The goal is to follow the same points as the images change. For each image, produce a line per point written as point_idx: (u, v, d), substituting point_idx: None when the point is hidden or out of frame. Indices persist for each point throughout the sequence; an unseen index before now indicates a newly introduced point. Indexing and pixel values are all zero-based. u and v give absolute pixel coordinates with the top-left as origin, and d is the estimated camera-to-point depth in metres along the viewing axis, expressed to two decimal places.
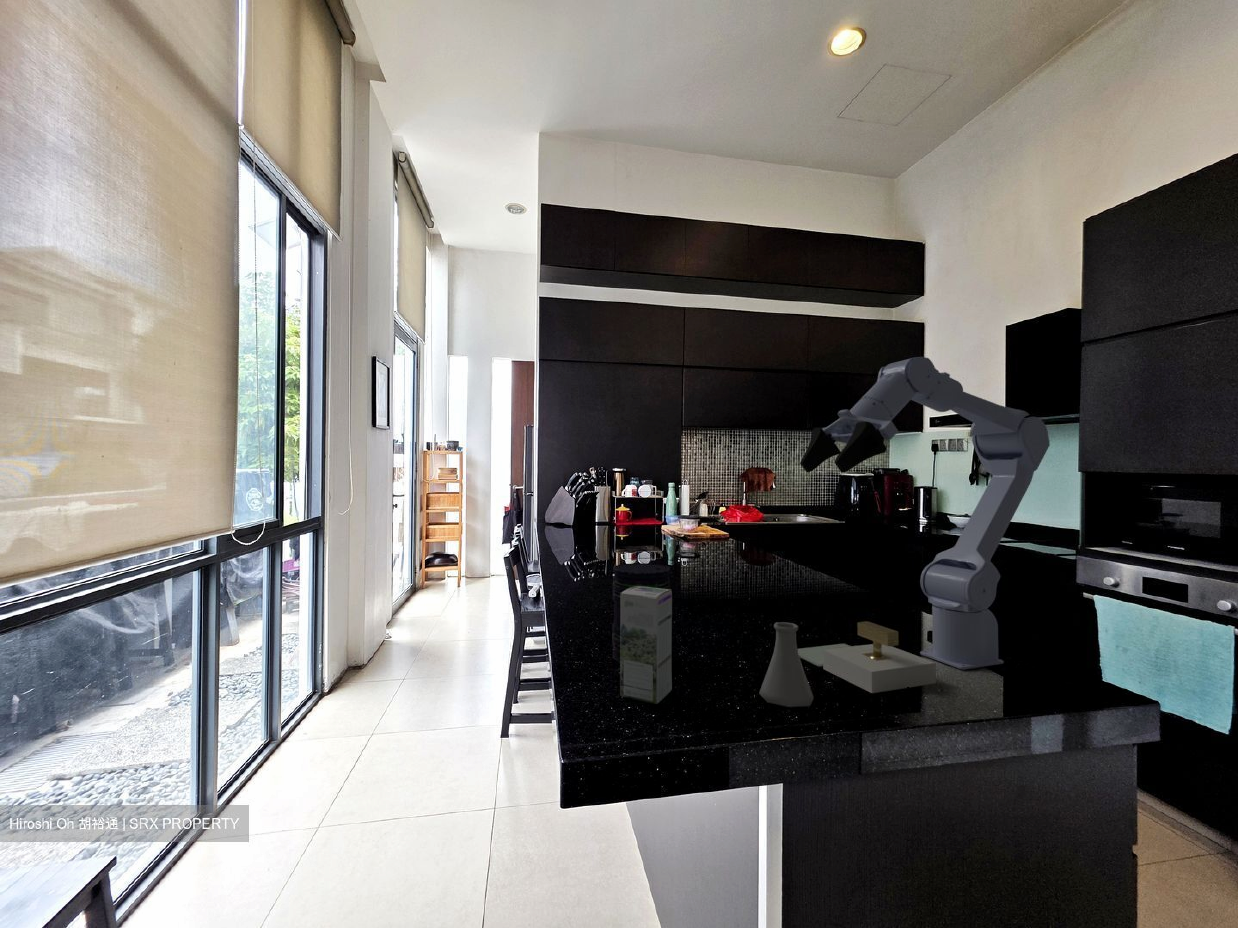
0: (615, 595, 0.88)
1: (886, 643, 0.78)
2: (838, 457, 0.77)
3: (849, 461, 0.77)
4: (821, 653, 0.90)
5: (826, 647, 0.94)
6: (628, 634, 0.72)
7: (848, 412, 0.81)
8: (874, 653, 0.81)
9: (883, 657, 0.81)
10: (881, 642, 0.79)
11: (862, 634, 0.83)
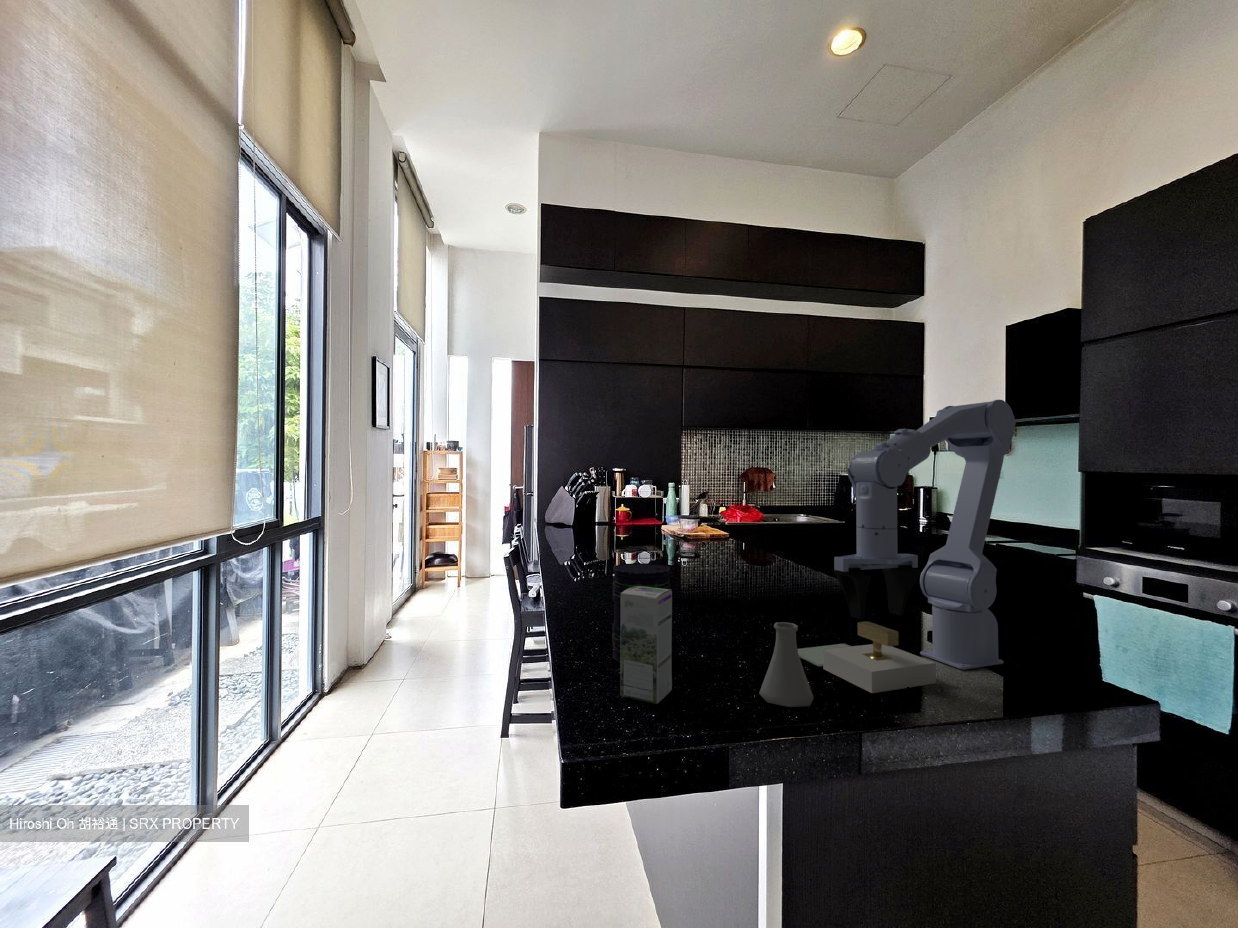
0: (615, 595, 0.88)
1: (886, 643, 0.78)
2: (903, 610, 0.81)
3: None
4: (821, 653, 0.90)
5: (826, 647, 0.94)
6: (628, 634, 0.72)
7: None
8: (874, 653, 0.81)
9: (883, 657, 0.81)
10: (881, 642, 0.79)
11: (862, 634, 0.83)
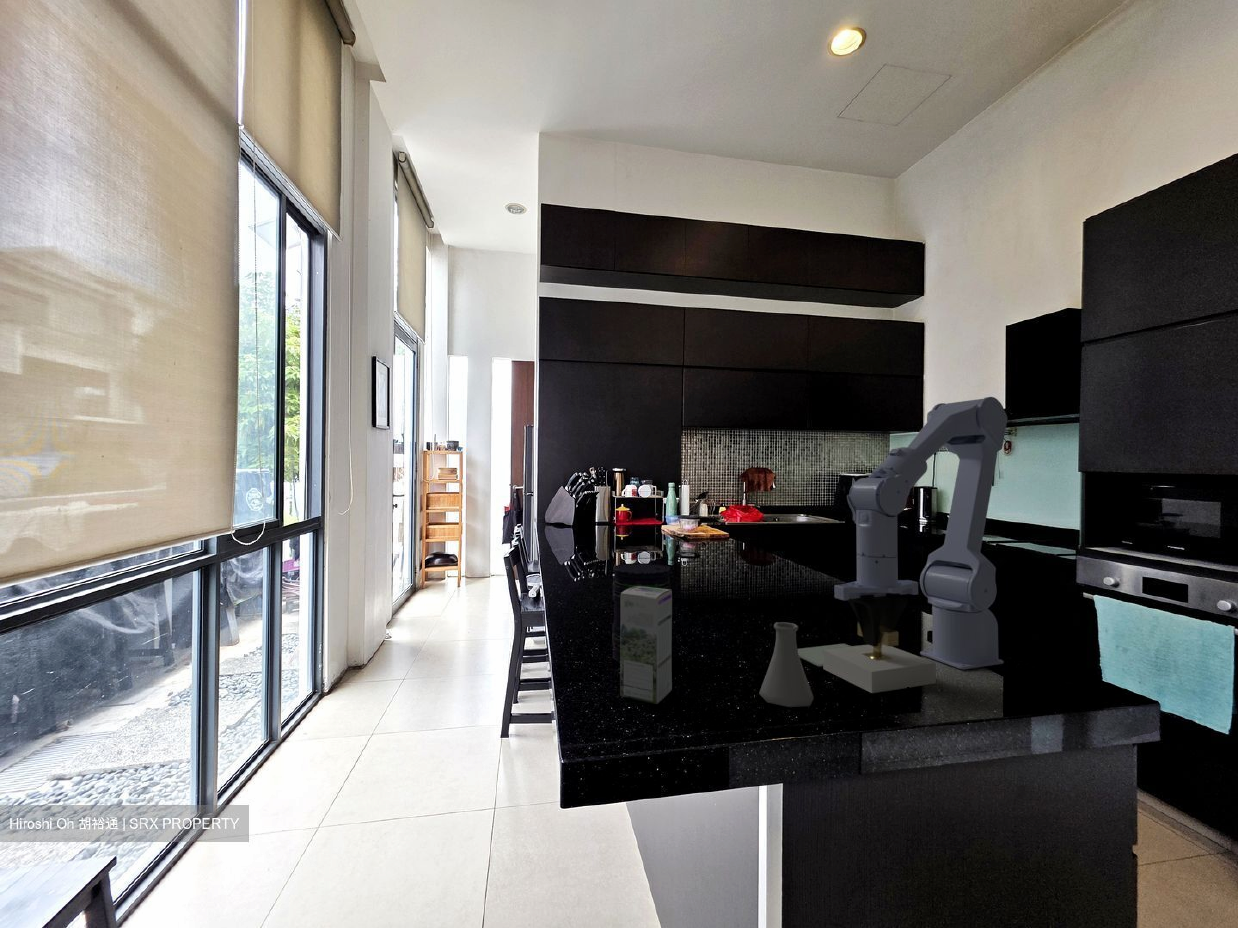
0: (615, 595, 0.88)
1: (886, 643, 0.78)
2: None
3: None
4: (821, 653, 0.90)
5: (826, 647, 0.94)
6: (628, 634, 0.72)
7: None
8: (874, 653, 0.81)
9: (883, 657, 0.81)
10: (881, 642, 0.79)
11: None
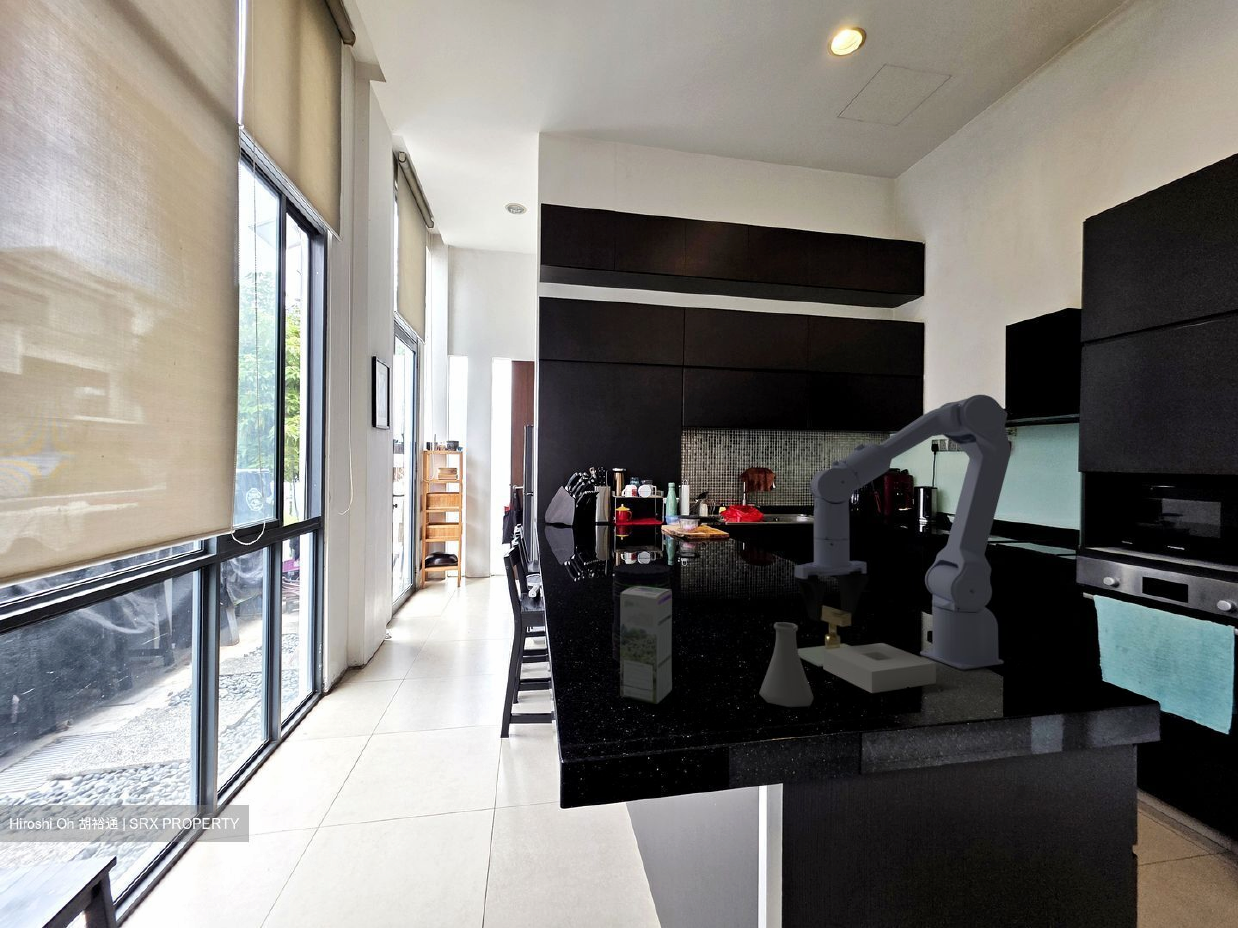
0: (615, 595, 0.88)
1: (840, 623, 0.88)
2: (854, 612, 0.91)
3: None
4: (821, 653, 0.90)
5: None
6: (628, 634, 0.72)
7: (852, 569, 0.88)
8: (830, 633, 0.90)
9: (837, 637, 0.90)
10: (836, 623, 0.88)
11: None
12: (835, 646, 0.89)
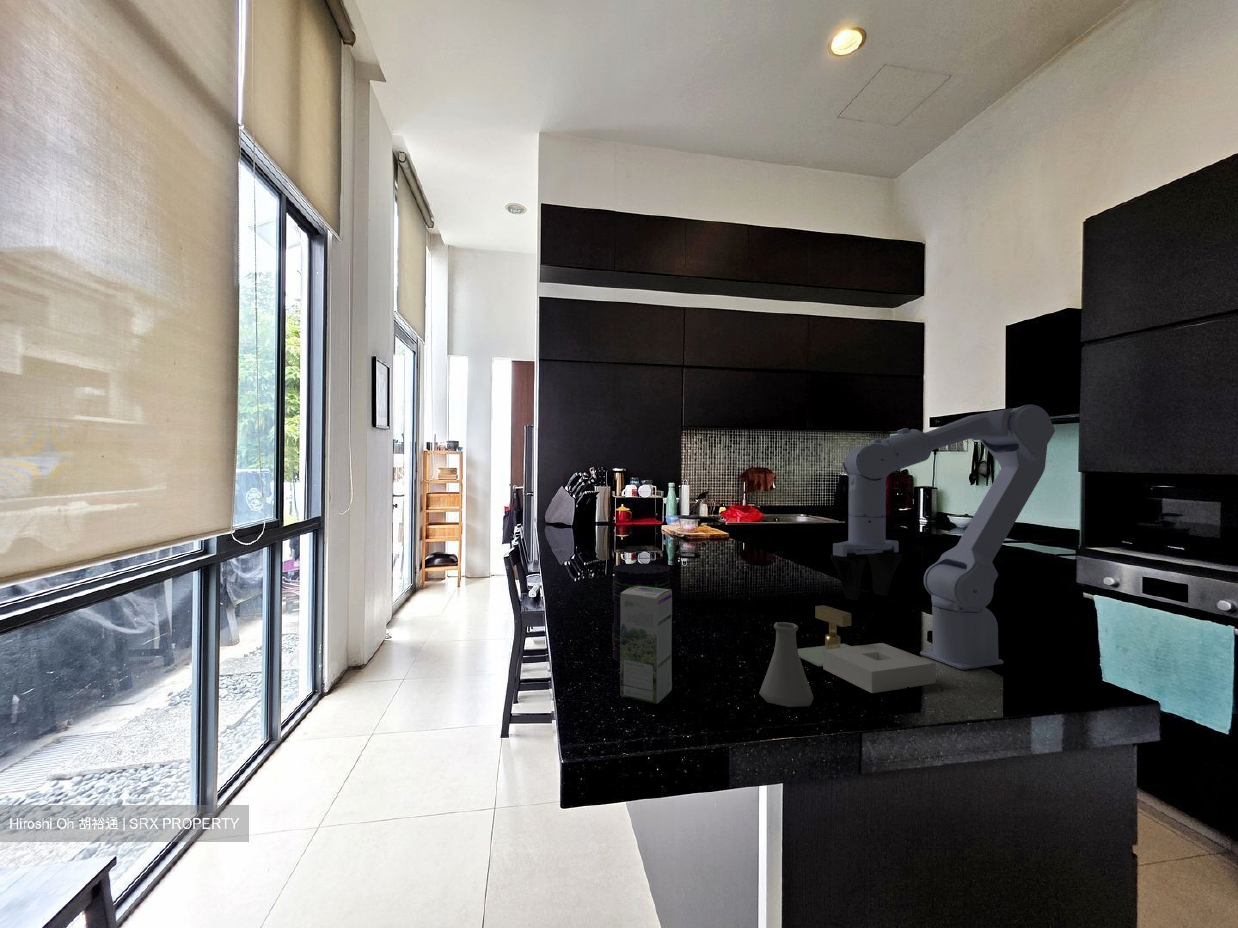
0: (615, 595, 0.88)
1: (840, 624, 0.88)
2: (887, 591, 0.90)
3: None
4: (821, 653, 0.90)
5: None
6: (628, 634, 0.72)
7: None
8: (830, 633, 0.90)
9: (838, 637, 0.90)
10: (836, 623, 0.88)
11: (819, 617, 0.92)
12: (835, 646, 0.89)
